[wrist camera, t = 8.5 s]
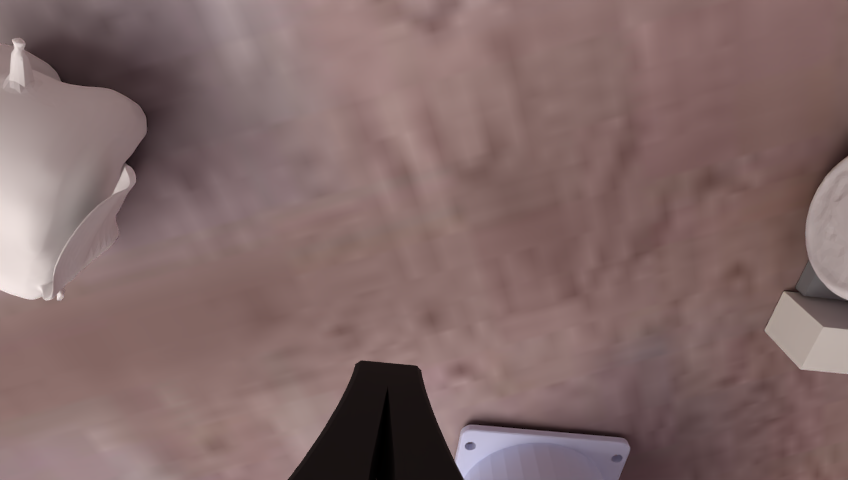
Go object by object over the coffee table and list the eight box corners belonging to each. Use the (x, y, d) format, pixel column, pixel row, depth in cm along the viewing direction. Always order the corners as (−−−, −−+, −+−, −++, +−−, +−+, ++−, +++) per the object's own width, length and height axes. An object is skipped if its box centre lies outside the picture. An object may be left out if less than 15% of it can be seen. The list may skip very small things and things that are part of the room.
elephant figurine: (-60, 217, 21) (-268, 329, 15) (-28, -36, 17) (-290, -34, 11) (142, 293, 23) (34, 424, 16) (213, 78, 19) (107, 138, 12)
